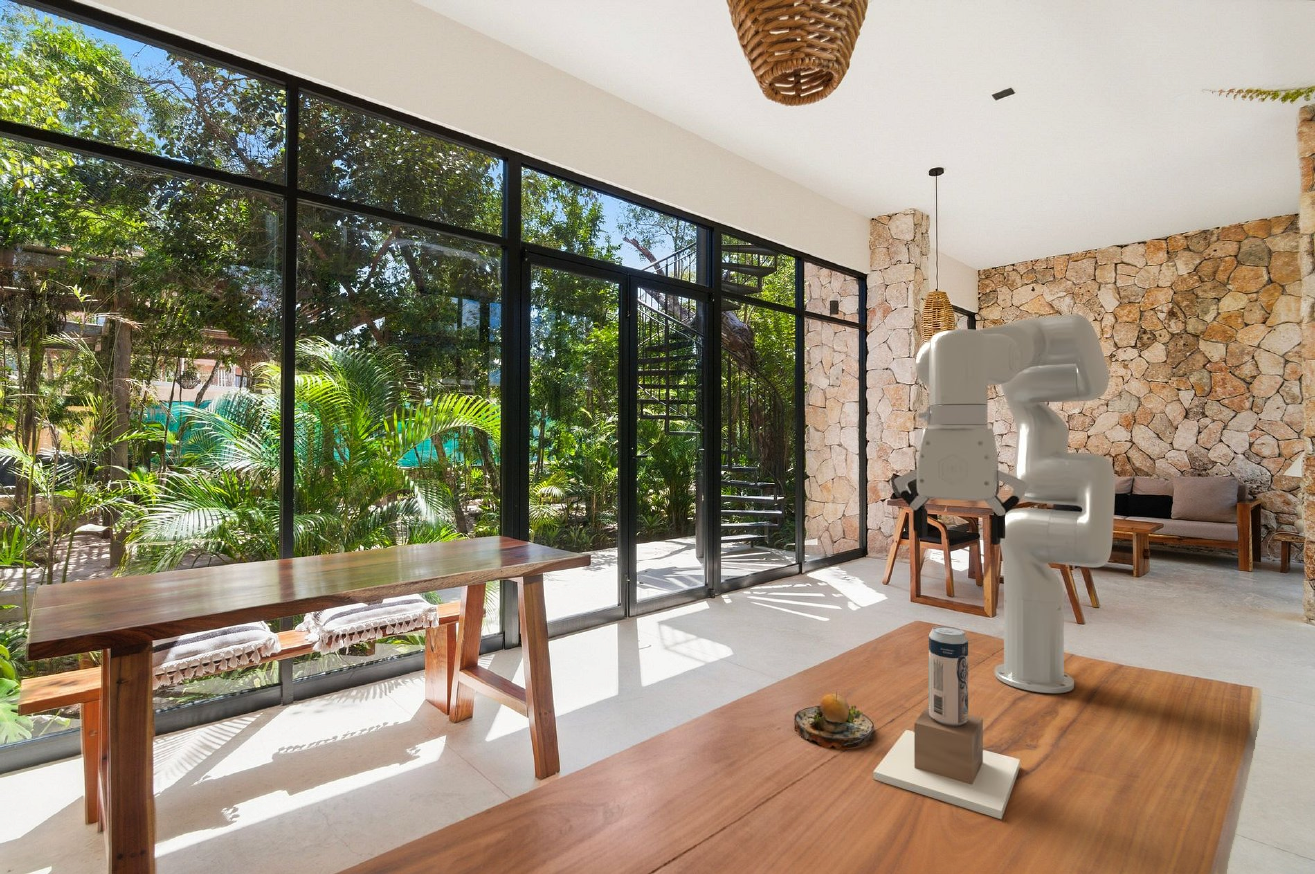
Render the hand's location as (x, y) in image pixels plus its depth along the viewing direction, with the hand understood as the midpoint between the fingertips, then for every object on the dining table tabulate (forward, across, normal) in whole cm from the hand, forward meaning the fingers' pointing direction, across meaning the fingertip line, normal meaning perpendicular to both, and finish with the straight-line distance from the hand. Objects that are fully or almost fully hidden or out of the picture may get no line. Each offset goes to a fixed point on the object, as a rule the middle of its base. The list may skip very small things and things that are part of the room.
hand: (957, 540), depth 91 cm
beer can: (+24, 0, -6) cm, 24 cm away
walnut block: (+29, 0, -6) cm, 30 cm away
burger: (+31, -17, -3) cm, 35 cm away
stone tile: (+30, 0, -6) cm, 31 cm away
